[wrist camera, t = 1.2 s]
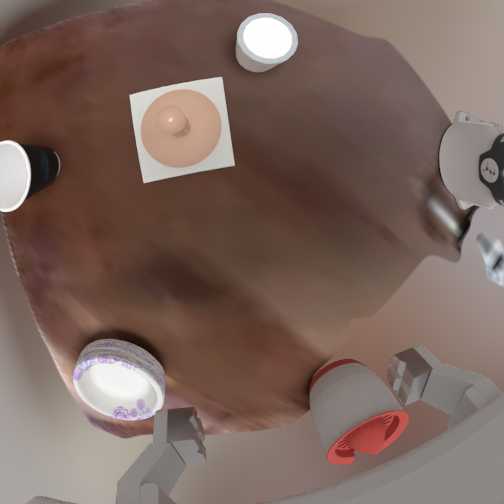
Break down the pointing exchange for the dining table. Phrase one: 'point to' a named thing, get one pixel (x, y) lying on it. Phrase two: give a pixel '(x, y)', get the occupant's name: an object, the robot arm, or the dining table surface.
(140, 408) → the paper bowls
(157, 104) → the peg on round base
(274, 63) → the white round tub
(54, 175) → the dixie cup
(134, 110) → the mat
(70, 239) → the dining table surface
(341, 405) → the citrus juicer
